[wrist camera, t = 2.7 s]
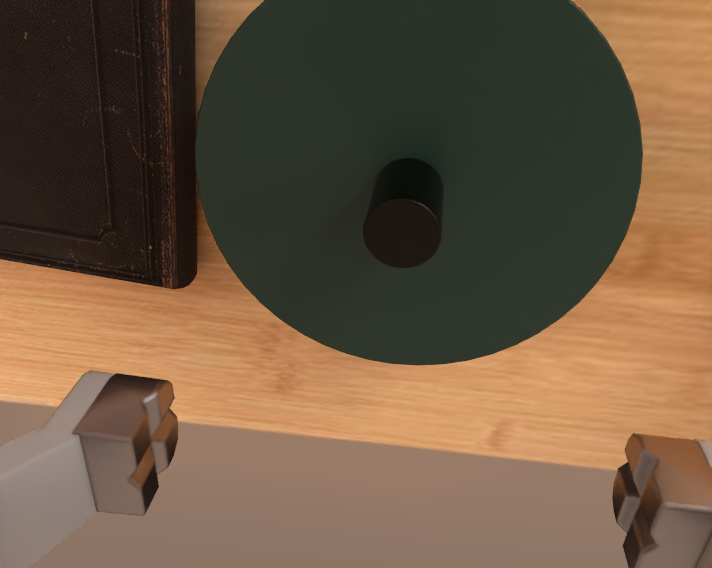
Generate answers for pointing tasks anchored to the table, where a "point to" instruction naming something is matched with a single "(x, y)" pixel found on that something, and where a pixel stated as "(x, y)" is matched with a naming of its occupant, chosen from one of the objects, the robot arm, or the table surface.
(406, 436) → the table surface
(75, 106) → the hardcover book
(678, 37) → the table surface
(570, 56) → the tin lid
